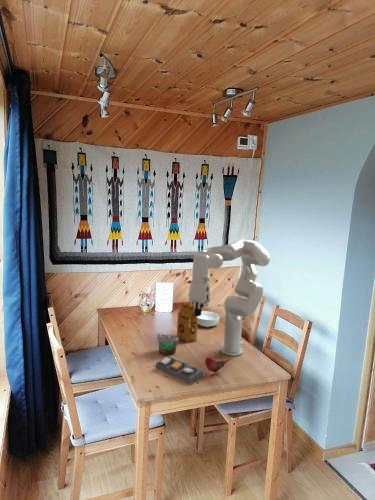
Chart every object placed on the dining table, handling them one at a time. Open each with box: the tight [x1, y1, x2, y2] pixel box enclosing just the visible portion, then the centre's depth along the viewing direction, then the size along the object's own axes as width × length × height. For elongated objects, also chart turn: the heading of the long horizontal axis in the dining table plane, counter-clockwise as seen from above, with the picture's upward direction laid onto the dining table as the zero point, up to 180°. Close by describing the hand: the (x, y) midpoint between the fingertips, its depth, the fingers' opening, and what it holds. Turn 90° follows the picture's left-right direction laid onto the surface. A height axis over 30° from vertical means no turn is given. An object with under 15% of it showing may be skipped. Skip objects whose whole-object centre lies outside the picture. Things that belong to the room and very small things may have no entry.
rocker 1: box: [160, 356, 171, 365], centre depth 184 cm, size 4×3×1 cm
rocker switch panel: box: [155, 356, 204, 385], centre depth 181 cm, size 10×22×4 cm, turn 51°
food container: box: [156, 332, 180, 357], centre depth 201 cm, size 12×6×10 cm, turn 68°
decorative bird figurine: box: [203, 356, 233, 376], centre depth 182 cm, size 3×18×10 cm, turn 125°
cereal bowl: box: [197, 310, 221, 328], centre depth 249 cm, size 17×17×7 cm
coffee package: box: [176, 301, 199, 343], centre depth 223 cm, size 10×12×22 cm
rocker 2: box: [183, 368, 194, 373], centre depth 175 cm, size 4×3×1 cm
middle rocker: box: [172, 362, 182, 369], centre depth 180 cm, size 4×3×1 cm
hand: (197, 315), depth 184 cm, fingers closed
